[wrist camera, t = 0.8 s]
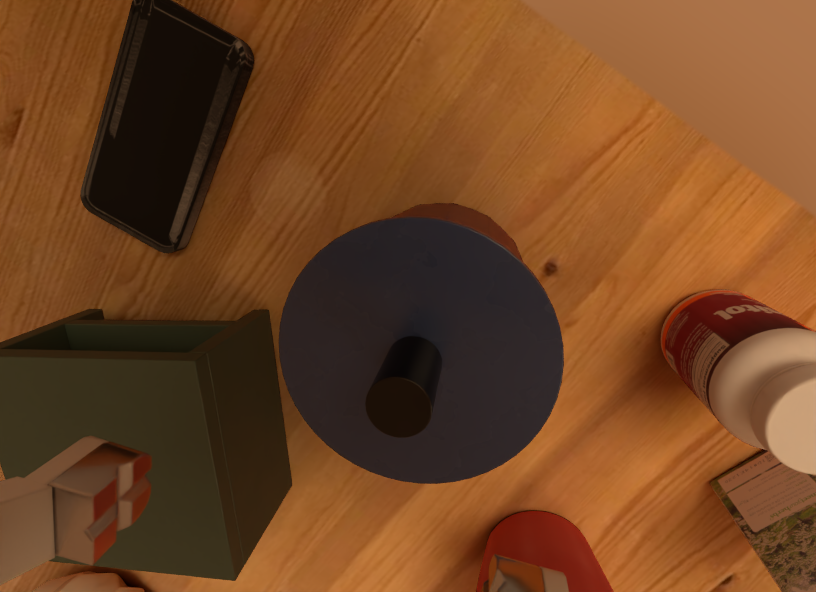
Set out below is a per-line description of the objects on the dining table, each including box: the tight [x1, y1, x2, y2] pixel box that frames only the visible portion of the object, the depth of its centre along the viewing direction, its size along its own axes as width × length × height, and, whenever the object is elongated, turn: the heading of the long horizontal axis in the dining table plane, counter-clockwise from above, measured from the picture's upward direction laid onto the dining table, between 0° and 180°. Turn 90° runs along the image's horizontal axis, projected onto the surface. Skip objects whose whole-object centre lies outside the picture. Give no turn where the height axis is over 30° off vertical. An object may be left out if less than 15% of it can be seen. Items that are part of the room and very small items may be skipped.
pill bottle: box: [661, 290, 816, 475], centre depth 24 cm, size 6×6×11 cm
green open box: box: [0, 309, 292, 581], centre depth 33 cm, size 15×15×9 cm
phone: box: [81, 0, 254, 253], centre depth 31 cm, size 8×1×15 cm
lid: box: [279, 216, 564, 484], centre depth 19 cm, size 12×12×5 cm
